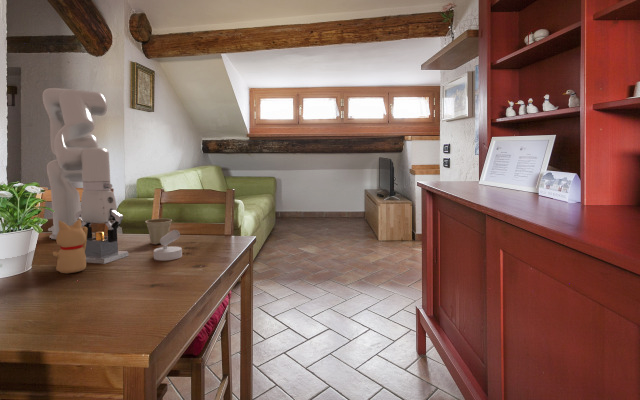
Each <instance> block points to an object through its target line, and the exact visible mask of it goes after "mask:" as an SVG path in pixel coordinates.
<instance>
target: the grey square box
mask: <svg viewBox="0 0 640 400" xmlns="http://www.w3.org/2000/svg"><path fill="white" fill-rule="evenodd" d="M118 245H119V243H118V240H117V241H114V242H108V235H107V236H105V235H104V239H103V240H96V237H95V236H92V238H88V239H87V242H86V249H85V255H86V256H91V257H103V256H107V255H110V254H113V253H116V252H118V251H119V246H118Z"/></svg>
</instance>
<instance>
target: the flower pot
mask: <svg viewBox="0 0 640 400" xmlns="http://www.w3.org/2000/svg"><path fill="white" fill-rule="evenodd" d="M144 222H145V224H146V226H147V230H148V236H149V240H150V243H151V244H152V245H159V244H160V245H161V243H160V239H161V238H162V237H163V236H165V235H166V234H168V233H169V232H171V230H170V229H171V225H172V222H173V220H172V218H153V219H148V220H145V221H144Z"/></svg>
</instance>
